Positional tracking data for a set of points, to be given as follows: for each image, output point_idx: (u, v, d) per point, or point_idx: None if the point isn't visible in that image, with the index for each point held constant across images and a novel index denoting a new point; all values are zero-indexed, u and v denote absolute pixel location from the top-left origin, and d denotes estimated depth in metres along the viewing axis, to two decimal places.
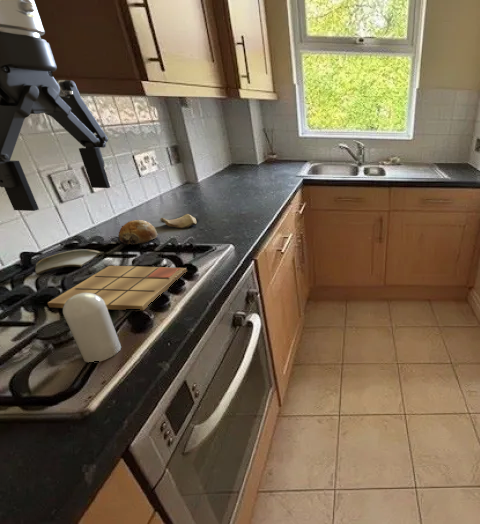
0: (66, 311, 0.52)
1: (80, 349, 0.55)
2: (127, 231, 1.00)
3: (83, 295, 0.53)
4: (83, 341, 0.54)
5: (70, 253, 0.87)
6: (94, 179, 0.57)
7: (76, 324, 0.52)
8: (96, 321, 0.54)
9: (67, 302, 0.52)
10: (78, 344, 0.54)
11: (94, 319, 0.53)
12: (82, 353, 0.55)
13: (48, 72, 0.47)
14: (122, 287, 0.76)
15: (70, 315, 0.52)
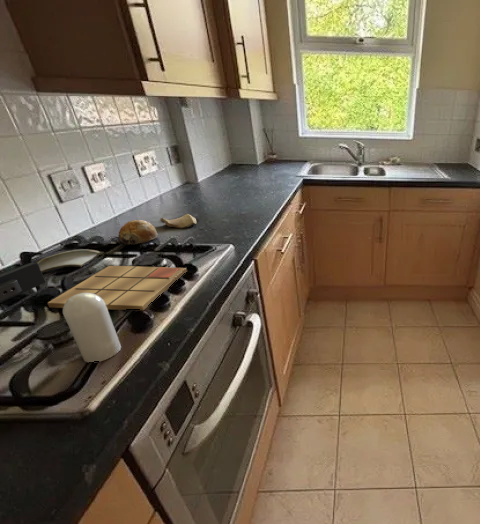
0: (66, 311, 0.52)
1: (80, 349, 0.55)
2: (127, 231, 1.00)
3: (83, 295, 0.53)
4: (83, 341, 0.54)
5: (70, 253, 0.87)
6: None
7: (76, 324, 0.52)
8: (96, 321, 0.54)
9: (67, 302, 0.52)
10: (78, 344, 0.54)
11: (94, 319, 0.53)
12: (82, 353, 0.55)
13: None
14: (122, 287, 0.76)
15: (70, 315, 0.52)
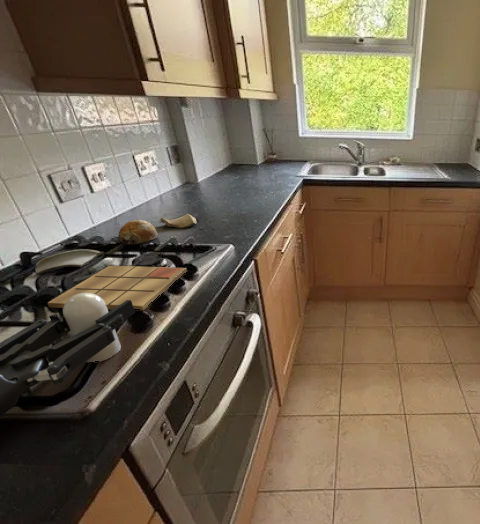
0: (66, 311, 0.52)
1: None
2: (127, 231, 1.00)
3: (83, 295, 0.53)
4: None
5: (70, 253, 0.87)
6: None
7: (76, 324, 0.52)
8: None
9: (67, 302, 0.52)
10: None
11: (94, 319, 0.53)
12: None
13: None
14: (122, 287, 0.76)
15: (70, 315, 0.52)
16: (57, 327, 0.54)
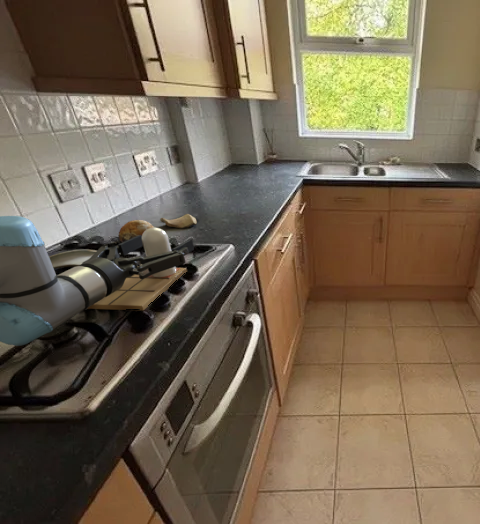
0: (145, 238, 0.76)
1: None
2: (127, 231, 1.00)
3: (155, 228, 0.78)
4: None
5: (70, 253, 0.87)
6: None
7: (151, 247, 0.77)
8: (163, 246, 0.78)
9: (145, 232, 0.77)
10: None
11: (162, 244, 0.78)
12: None
13: None
14: (122, 287, 0.76)
15: (147, 240, 0.76)
16: None
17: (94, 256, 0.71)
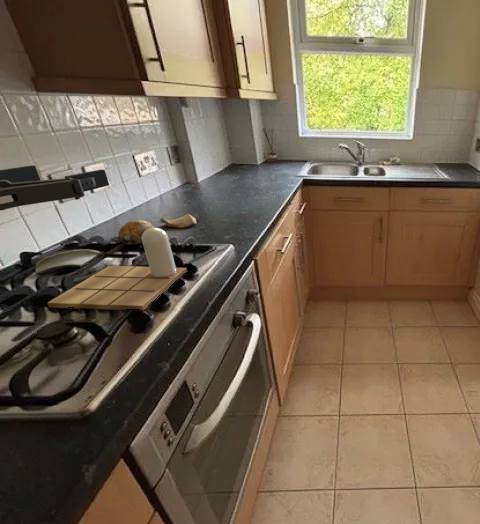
0: (145, 238, 0.76)
1: (151, 267, 0.79)
2: (127, 231, 1.00)
3: (155, 228, 0.78)
4: (154, 260, 0.78)
5: (70, 253, 0.87)
6: None
7: (151, 247, 0.77)
8: (163, 246, 0.78)
9: (145, 232, 0.77)
10: (150, 263, 0.79)
11: (162, 244, 0.78)
12: (152, 270, 0.80)
13: None
14: (122, 287, 0.76)
15: (147, 240, 0.76)
16: None
17: None
